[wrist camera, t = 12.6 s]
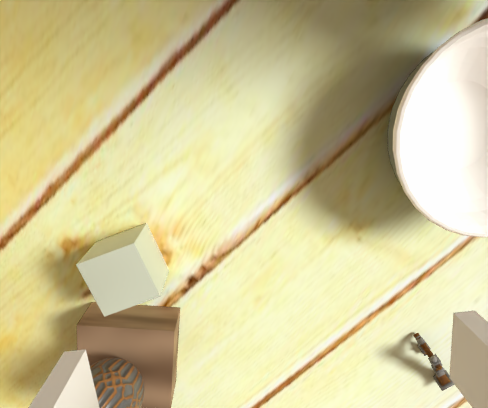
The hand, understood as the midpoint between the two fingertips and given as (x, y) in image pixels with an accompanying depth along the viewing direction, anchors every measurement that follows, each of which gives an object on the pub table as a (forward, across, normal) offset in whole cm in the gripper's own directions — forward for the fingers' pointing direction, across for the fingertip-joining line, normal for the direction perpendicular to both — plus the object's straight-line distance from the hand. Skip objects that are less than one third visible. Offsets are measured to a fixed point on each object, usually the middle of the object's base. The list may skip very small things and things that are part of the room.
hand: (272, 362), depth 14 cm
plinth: (+29, -15, -18) cm, 37 cm away
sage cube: (+29, -13, -7) cm, 32 cm away
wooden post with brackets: (+29, +20, -24) cm, 43 cm away
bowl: (+29, +22, +4) cm, 37 cm away
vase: (+24, -14, -18) cm, 33 cm away
